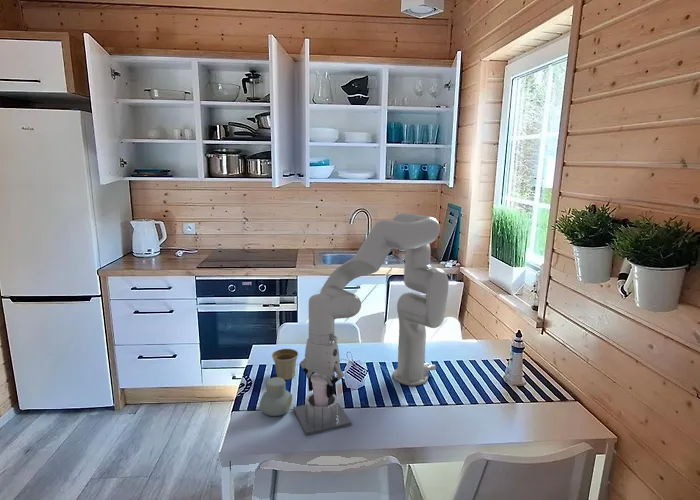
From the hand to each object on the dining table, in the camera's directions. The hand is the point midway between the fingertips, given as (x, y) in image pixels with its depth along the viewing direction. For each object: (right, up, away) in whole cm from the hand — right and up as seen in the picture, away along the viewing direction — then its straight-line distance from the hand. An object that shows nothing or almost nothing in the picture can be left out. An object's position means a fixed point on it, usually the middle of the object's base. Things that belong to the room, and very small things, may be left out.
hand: (321, 391), depth 131 cm
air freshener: (-14, -8, +5) cm, 17 cm away
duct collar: (0, -8, +2) cm, 9 cm away
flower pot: (-15, -3, +27) cm, 31 cm away
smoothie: (0, -5, +1) cm, 5 cm away
